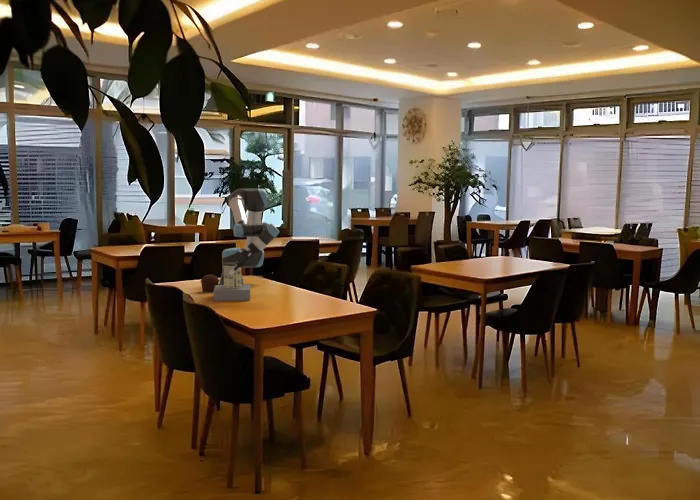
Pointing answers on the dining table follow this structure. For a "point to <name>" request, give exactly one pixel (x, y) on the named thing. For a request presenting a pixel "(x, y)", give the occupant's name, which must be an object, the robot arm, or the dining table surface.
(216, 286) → the grey block
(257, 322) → the dining table surface
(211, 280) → the muffin
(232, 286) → the coffee can
